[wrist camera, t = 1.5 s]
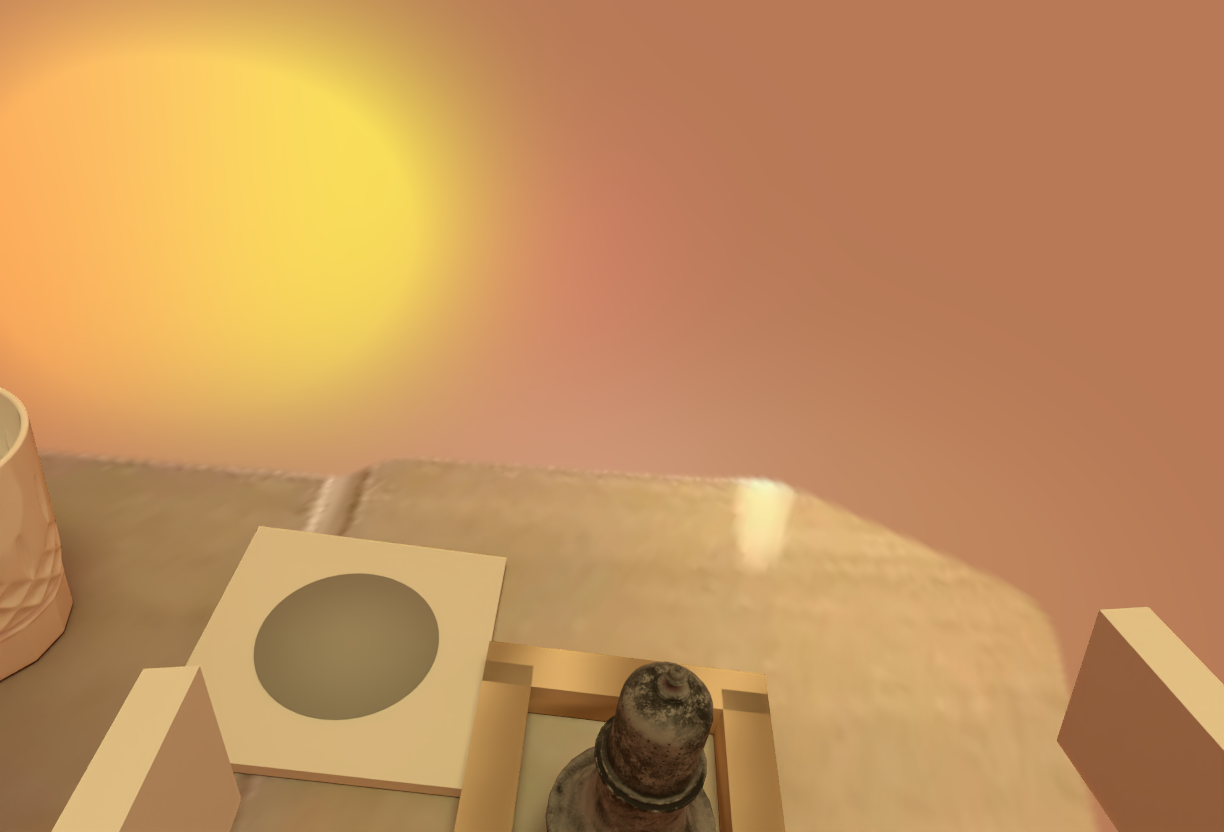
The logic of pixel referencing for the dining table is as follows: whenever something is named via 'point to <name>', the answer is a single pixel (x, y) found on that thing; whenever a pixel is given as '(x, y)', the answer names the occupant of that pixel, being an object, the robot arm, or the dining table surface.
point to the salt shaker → (642, 761)
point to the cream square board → (351, 660)
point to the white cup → (27, 547)
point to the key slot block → (593, 693)
